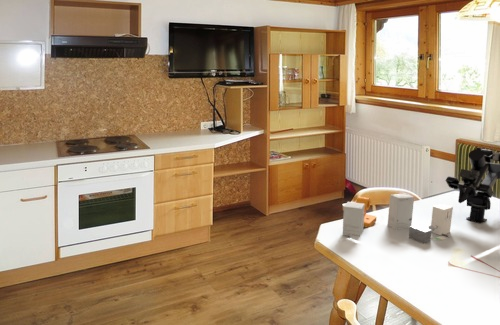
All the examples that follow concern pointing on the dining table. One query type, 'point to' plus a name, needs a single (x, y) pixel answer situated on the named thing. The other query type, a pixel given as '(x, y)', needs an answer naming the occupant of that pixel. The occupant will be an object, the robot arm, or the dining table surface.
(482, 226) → the dining table surface
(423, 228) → the dark gray block
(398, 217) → the skincare box
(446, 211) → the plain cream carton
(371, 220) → the bracket
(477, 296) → the dining table surface
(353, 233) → the supplement box
